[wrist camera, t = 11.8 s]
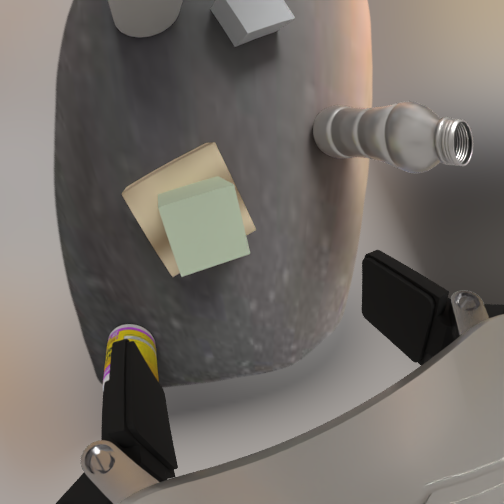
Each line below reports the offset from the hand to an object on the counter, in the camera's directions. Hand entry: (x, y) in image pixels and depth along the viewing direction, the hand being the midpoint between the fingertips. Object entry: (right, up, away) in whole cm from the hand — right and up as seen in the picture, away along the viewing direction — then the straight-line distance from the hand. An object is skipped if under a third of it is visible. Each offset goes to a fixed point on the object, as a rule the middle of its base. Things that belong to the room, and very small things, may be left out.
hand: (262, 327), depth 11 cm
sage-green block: (-6, +6, +17) cm, 19 cm away
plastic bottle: (+9, +18, +24) cm, 31 cm away
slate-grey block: (-1, +30, +15) cm, 33 cm away
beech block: (-8, +8, +22) cm, 24 cm away
